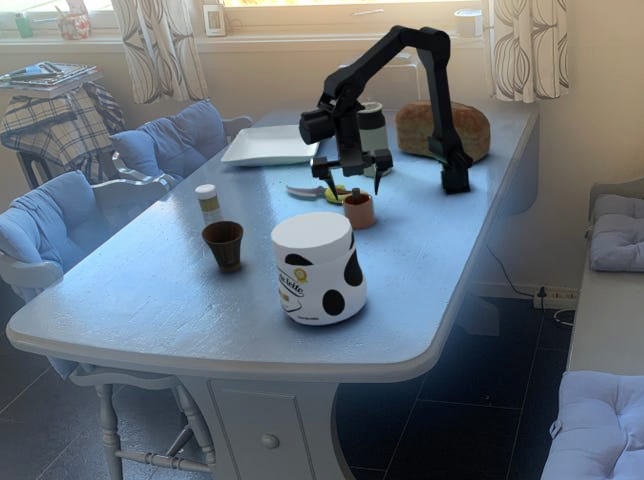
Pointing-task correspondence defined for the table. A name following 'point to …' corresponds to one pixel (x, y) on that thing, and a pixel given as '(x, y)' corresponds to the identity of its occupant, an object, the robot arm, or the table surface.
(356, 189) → the walnut stick
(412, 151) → the bread
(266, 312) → the table surface
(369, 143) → the travel mug
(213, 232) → the cup
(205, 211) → the sprinkles bottle
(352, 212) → the terracotta cup
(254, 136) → the square plate
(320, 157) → the robot arm
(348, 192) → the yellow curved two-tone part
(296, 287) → the milk container
